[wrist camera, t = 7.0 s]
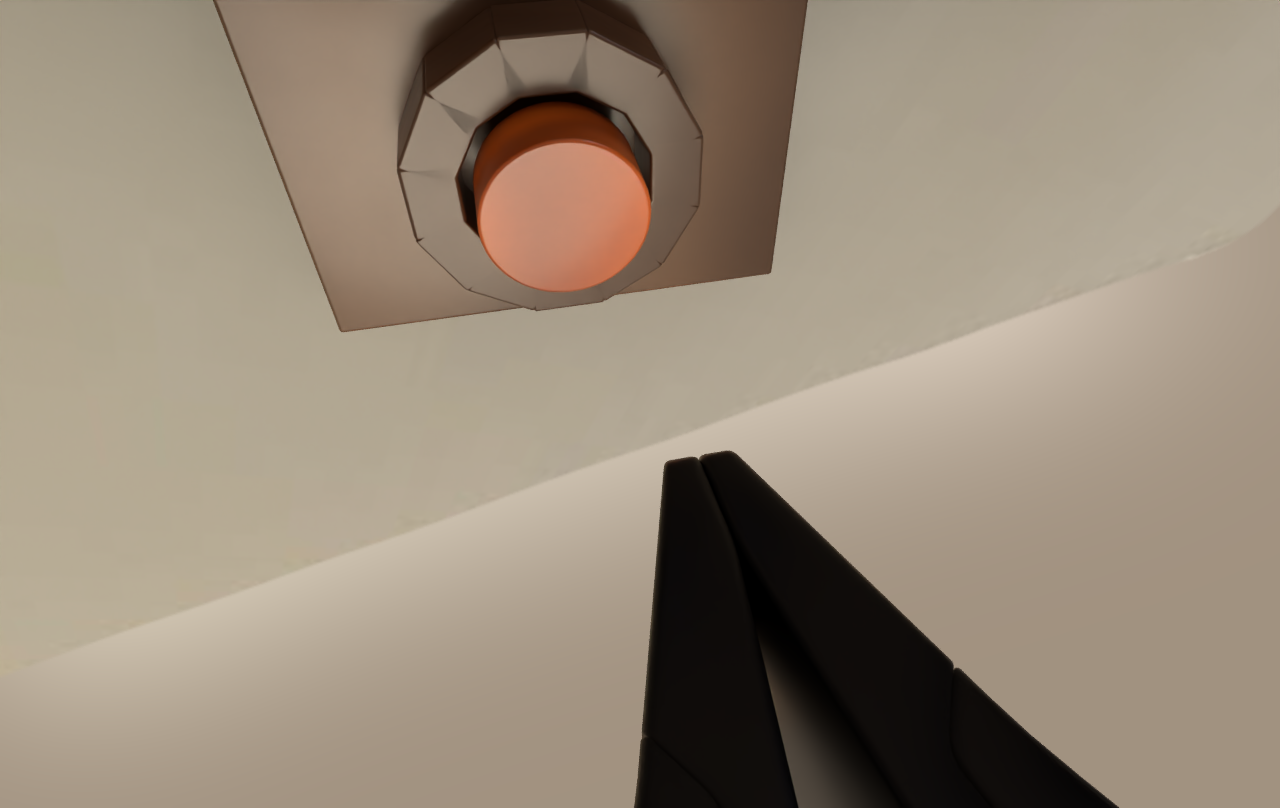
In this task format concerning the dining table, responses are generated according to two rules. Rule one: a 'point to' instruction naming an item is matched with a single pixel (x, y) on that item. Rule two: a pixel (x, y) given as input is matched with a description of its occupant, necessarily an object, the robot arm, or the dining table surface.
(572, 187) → the button
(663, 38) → the button block
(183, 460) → the dining table surface
